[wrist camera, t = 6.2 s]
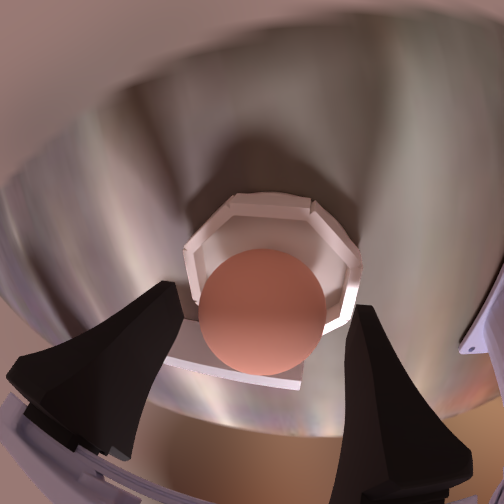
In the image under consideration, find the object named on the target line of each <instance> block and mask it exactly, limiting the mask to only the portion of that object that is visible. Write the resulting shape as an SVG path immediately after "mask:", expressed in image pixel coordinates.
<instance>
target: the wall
mask: <svg viewBox="0 0 504 504" xmlns="http://www.w3.org/2000/svg"><path fill="white" fill-rule="evenodd" d="M163 364H167V365H170V366H174V367H178V368H182V369H186V370H190V371H194V372H198V373H202V374H206V375H211V376H215V377H220V378H225V379H230V380H235V381H240V382H246V383H251V384H257V385H263V386H270V387H277V388H284V389H292V390H300V385H301V380H302V373H303V366H304V361H302V362H301V363H300V364H298V365H297V366H295V367H293V368H292V369H290V370H287V371H285V372H282V373H278V374H274V375H262V376H260V375H250V374H246V373H242V372H240V371H237V370H235V369H233V368H231V367H229V366H228V365H226V364H225V363H223V362H222V361H221V360H220V359H219V358H218V357H217V356H216V355H215V354H214V353H213V352H212V351H211V349H210V348H209V347H208V345H207V343H206V341H205V340H204V337H203V335H202V332H201V329H200V324H199V322H198V321H193V320H188V319H183V322H182V325H181V327H180V330H179V333H178V335H177V338H176V340H175V342H174V344H173V345H172V347H171V349H170V351H169V353H168V355H167V357H166V359H165V360H164V362H163Z"/></svg>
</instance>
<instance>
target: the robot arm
mask: <svg viewBox="0 0 504 504" xmlns="http://www.w3.org/2000/svg"><path fill="white" fill-rule="evenodd" d="M183 319H184V315H183V312H182V308H181V304H180V300H179V297H178V293H177V289H176V285H175V282H169V281H161V282H159V283H158V284H156V285H155V286H153V287H152V288H151V289H149V290H148V291H147V292H145V293H144V294H142V295H141V296H140V297H138V298H137V299H136V300H134V301H133V302H131V303H130V304H129V305H127V306H126V307H125V308H123V309H122V310H120V311H119V312H117V313H116V314H114V315H113V316H111V317H110V318H108V319H107V320H105V321H104V322H102V323H101V324H99V325H97V326H96V327H94V328H92V329H90V330H88V331H87V332H85V333H83V334H81V335H79V336H77V337H75V338H73V339H70V340H68V341H66V342H64V343H62V344H59V345H57V346H54V347H51V348H48V349H46V350H43V351H39V352H36V353H32V354H28V355H25V356H20V357H19V358H18V359H17V361H16V362H15V364H14V365H13V366H12V368H11V369H10V370H9V372H8V373H7V375H6V378H7V380H8V381H9V382H10V383H11V384H12V385H13V386H14V387H15V388H16V389H17V390H18V391H19V392H20V393H21V394H22V395H23V396H24V397H25V398H26V399H27V400H28V401H29V402H30V403H29V405H28V406H27V405H25V404H24V403H23V402H22V401H21V400H20V399H18V398H17V397H16V396H15V395H14V394H13V393H11V392H10V393H9V394H8V396H7V398H6V399H5V401H4V402H3V404H2V405H1V407H0V442H1V443H2V445H3V446H4V447H5V448H6V450H7V451H8V452H9V453H10V455H11V456H12V457H13V459H14V460H15V461H16V463H17V464H18V465H19V467H20V468H21V469H22V470H23V471H24V472H25V474H26V475H27V476H28V477H29V479H30V480H31V481H32V482H33V483H34V484H35V485H36V486H37V487H38V489H39V490H40V491H41V492H42V493H43V494H44V495H45V496H46V497H47V498H48V499H49V500H50V501H51V502H52V503H53V504H140V503H141V501H142V500H141V499H140V498H139V497H137V496H135V495H133V494H131V493H129V492H127V491H125V490H123V489H120V488H118V487H116V486H114V485H112V484H110V483H108V482H106V481H105V479H104V476H103V475H105V476H106V477H108V478H110V479H112V480H114V481H116V482H118V483H120V484H122V485H124V486H126V487H128V488H130V489H132V490H134V491H136V492H138V493H140V494H143V495H145V496H147V497H149V498H152V499H154V500H157V501H159V502H162V503H165V504H215V503H211V502H208V501H204V500H201V499H197V498H194V497H191V496H188V495H184V494H182V493H179V492H176V491H173V490H170V489H168V488H165V487H162V486H160V485H157V484H155V483H152V482H150V481H148V480H145V479H143V478H141V477H138V476H136V475H134V474H132V473H130V472H128V471H126V470H124V469H122V468H119V467H117V466H115V465H114V464H112V463H110V462H108V461H106V460H104V459H102V458H101V457H99V456H98V454H99V453H101V454H103V455H105V456H107V455H108V454H110V455H112V456H114V457H116V458H118V459H120V460H122V461H128V460H130V459H131V454H132V449H133V444H134V440H135V435H136V431H137V428H138V424H139V420H140V417H141V414H142V411H143V408H144V405H145V402H146V399H147V397H148V394H149V391H150V389H151V386H152V384H153V382H154V380H155V377H156V376H157V374H158V372H159V370H160V368H161V366H162V364H163V362H164V360H165V359H166V357H167V355H168V353H169V351H170V349H171V347H172V345H173V344H174V342H175V340H176V338H177V335H178V333H179V330H180V327H181V325H182V322H183ZM458 349H459V353H460V354H475V353H489V356H490V359H491V362H492V365H493V368H494V371H495V375H496V378H497V382H498V385H499V389H500V393H501V397H502V401H503V405H504V264H503V266H502V268H501V270H500V273H499V275H498V277H497V279H496V281H495V283H494V285H493V288H492V290H491V292H490V294H489V296H488V297H487V299H486V301H485V303H484V305H483V307H482V309H481V310H480V312H479V314H478V316H477V318H476V319H475V321H474V323H473V324H472V326H471V328H470V329H469V331H468V333H467V334H466V336H465V337H464V339H463V340H462V342H461V344H460V345H459V347H458ZM344 367H345V425H344V433H343V441H342V447H341V453H340V459H339V464H338V469H337V474H336V478H335V483H334V487H333V490H332V494H331V498H330V502H329V504H444V501H445V498H448V496H449V488H452V487H454V486H456V485H459V484H461V483H463V482H465V481H467V480H469V479H470V478H471V477H472V476H473V460H472V453H471V450H470V449H469V448H467V447H466V446H465V445H464V444H463V443H462V442H461V441H460V440H459V439H458V438H457V437H456V436H455V435H454V434H453V433H452V432H451V431H450V430H449V429H448V428H447V427H446V426H445V425H444V423H443V422H442V421H441V420H440V419H439V417H438V416H437V415H436V414H435V412H434V411H433V410H432V409H431V407H430V406H429V405H428V404H427V402H426V401H425V400H424V398H423V397H422V395H421V394H420V393H419V391H418V390H417V388H416V387H415V385H414V384H413V382H412V380H411V379H410V377H409V376H408V374H407V372H406V371H405V369H404V367H403V365H402V364H401V362H400V360H399V358H398V357H397V355H396V353H395V351H394V349H393V347H392V345H391V343H390V341H389V340H388V338H387V336H386V333H385V331H384V329H383V327H382V325H381V323H380V321H379V319H378V317H377V314H376V312H375V310H374V308H373V307H372V306H370V305H358V304H356V308H355V311H354V315H353V318H352V321H351V325H350V328H349V331H348V335H347V338H346V346H345V361H344ZM503 477H504V467H503ZM447 504H477V495H473V496H471V497H467V498H464V499H461V500H458V501H454V502H451V503H447ZM489 504H504V479H503V480H502V481H501V483H500V484H499V485H498V487H497V488H496V490H495V492H494V493H493V495H492V497H491V499H490V501H489Z"/></svg>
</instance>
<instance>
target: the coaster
mask: <svg viewBox="0 0 504 504" xmlns="http://www.w3.org/2000/svg"><path fill="white" fill-rule="evenodd" d="M252 249H272V250H277V251H281V252H284V253H287V254H290V255H292V256H293V257H295V258H297V259H298V260H300V261H301V262H303V263H304V264H305V265H306V266H307V267H308V268H309V269H310V270H311V271H312V272H313V273H314V275H315V276H316V278H317V279H318V281H319V283H320V285H321V287H322V289H323V293H324V296H325V300H326V310H327V315H326V324H325V328H324V331H323V334H325V333H327V332H329V331H331V330H333V329H335V328H337V327H339V326H341V325H343V324H345V323H347V322H348V320H350V317H351V314H352V310H353V307H354V303H355V299H356V295H357V291H358V287H359V283H360V279H361V275H362V271H363V264H362V258H361V254H360V250H359V249H358V248H357V247H356V245H355V244H354V243H353V242H352V241H351V240H350V238H349V237H348V235H347V233H346V231H345V230H344V228H343V227H342V226H341V224H340V223H339V222H338V221H337V220H336V219H335V218H334V217H333V216H332V215H331V214H330V213H329V212H327V211H326V210H325V209H323V208H322V207H321V206H320V205H319V203H318V202H317V201H316V200H315V201H314V202H312V201H311V198H306V197H300V196H296V195H292V194H288V193H282V192H256V193H250V194H243V193H237V194H236V195H235V196H234V195H232V196H231V197H230V198H229V199H228V200H227V201H226V202H225V203H224V204H223V205H222V206H221V207H220V208H219V209H218V210H216V211H215V212H214V213H213V214H212V216H211V217H210V218H209V219H208V220H207V221H206V222H205V223H204V224H203V225H202V226H201V227H200V228H199V229H198V230H197V231H196V232H195V233H194V234H193V235H192V237H191V238H190V239H189V240H188V242H187V243H186V244H185V246H184V249H183V255H184V260H185V265H186V270H187V274H188V279H189V284H190V289H191V293H192V298H193V300H196V302H195V303H196V304H197V305H198V306H199V301H200V296H201V293H202V290H203V288H204V285H205V283H206V281H207V280H208V278H209V277H210V275H211V274H212V273H213V271H214V270H215V269H216V268H217V267H218V266H219V265H220V264H221V263H223V262H224V261H226V260H227V259H229V258H230V257H232V256H234V255H236V254H238V253H241V252H244V251H247V250H252ZM323 334H322V335H323Z"/></svg>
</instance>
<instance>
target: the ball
mask: <svg viewBox="0 0 504 504" xmlns="http://www.w3.org/2000/svg"><path fill="white" fill-rule="evenodd" d="M326 315H327V310H326V300H325V296H324V293H323V289H322V287H321V285H320V283H319V281H318V279H317V278H316V276H315V275H314V273H313V272H312V271H311V270H310V269H309V268H308V267H307V266H306V265H305V264H304V263H303V262H301V261H300V260H298V259H297V258H295V257H293V256H292V255H290V254H287V253H284V252H281V251H277V250H272V249H252V250H247V251H244V252H241V253H238V254H236V255H234V256H232V257H230V258H229V259H227V260H226V261H224V262H223V263H221V264H220V265H219V266H218V267H217V268H216V269H215V270H214V271H213V273H212V274H211V275H210V277H209V278H208V280H207V281H206V283H205V285H204V288H203V290H202V293H201V296H200V301H199V309H198V317H199V324H200V329H201V332H202V335H203V337H204V340H205V341H206V343H207V345H208V347H209V348H210V349H211V351H212V352H213V353H214V354H215V355H216V356H217V357H218V358H219V359H220V360H221V361H222V362H223V363H225V364H226V365H228V366H229V367H231V368H233V369H235V370H237V371H240V372H242V373H246V374H250V375H260V376H262V375H274V374H278V373H282V372H285V371H287V370H290V369H292V368H293V367H295V366H297V365H298V364H300V363H301V362H302V361H304V360H305V359H306V358H307V357H308V356H309V355H310V354H311V353H312V352H313V350H314V349H315V348H316V346H317V344H318V343H319V341H320V339H321V337H322V334H323V331H324V328H325V324H326Z"/></svg>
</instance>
